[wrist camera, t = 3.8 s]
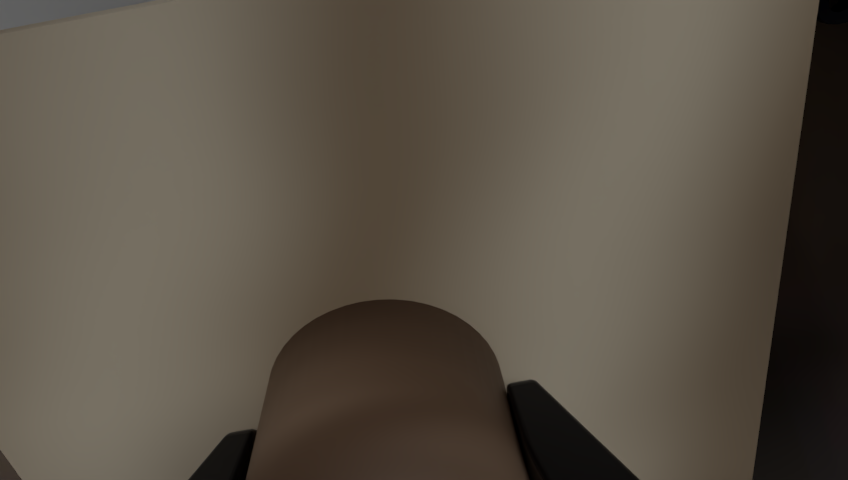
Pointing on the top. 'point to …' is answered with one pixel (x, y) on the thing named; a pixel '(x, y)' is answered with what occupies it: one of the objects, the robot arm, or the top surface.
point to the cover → (393, 232)
